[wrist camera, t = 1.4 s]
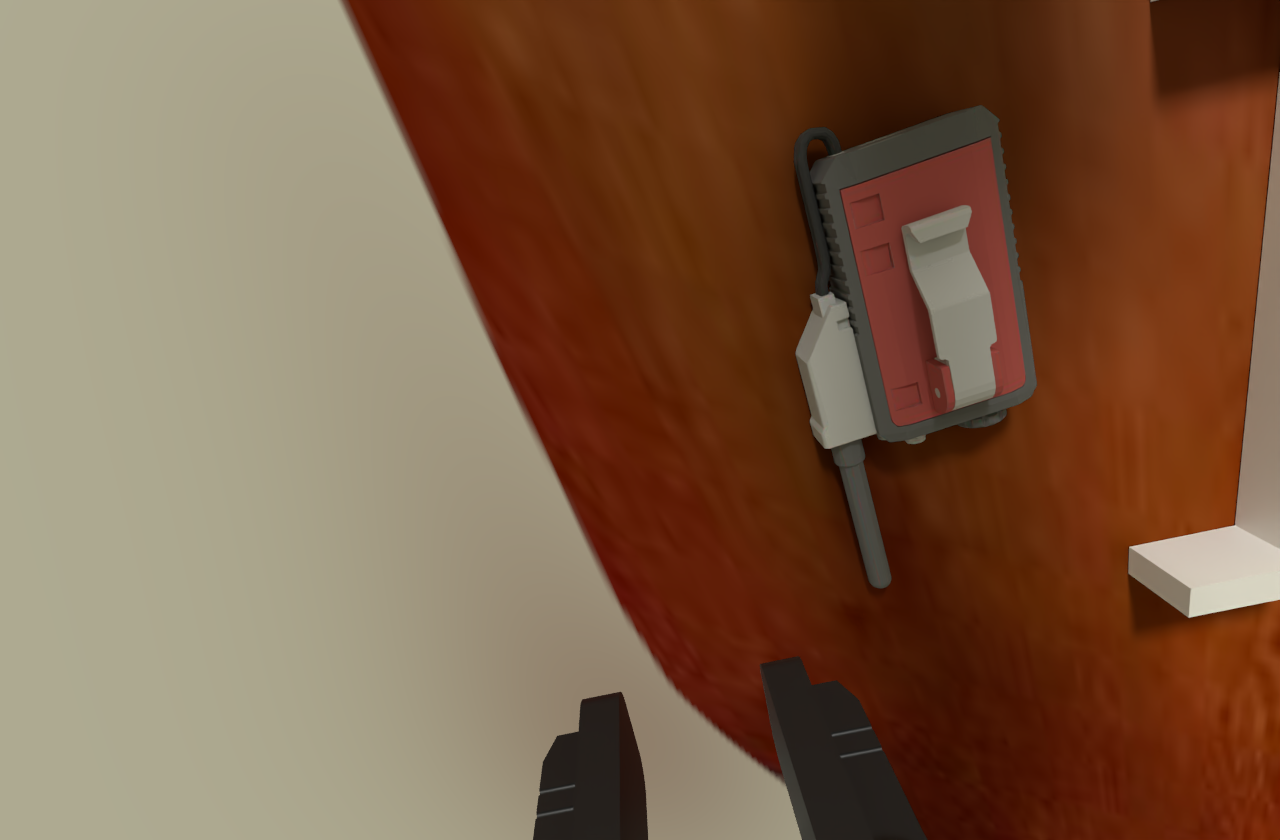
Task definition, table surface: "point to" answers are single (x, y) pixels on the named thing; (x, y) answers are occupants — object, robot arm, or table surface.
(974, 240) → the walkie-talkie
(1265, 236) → the white c-shaped bracket
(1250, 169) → the table surface
